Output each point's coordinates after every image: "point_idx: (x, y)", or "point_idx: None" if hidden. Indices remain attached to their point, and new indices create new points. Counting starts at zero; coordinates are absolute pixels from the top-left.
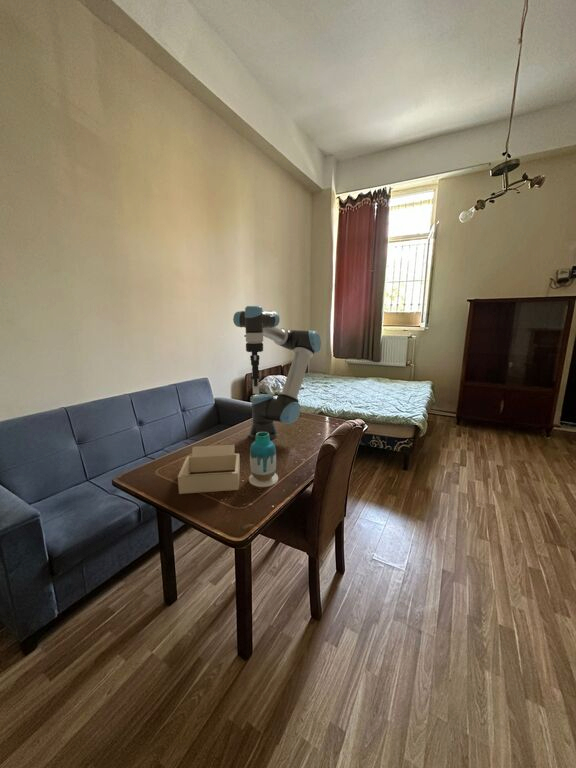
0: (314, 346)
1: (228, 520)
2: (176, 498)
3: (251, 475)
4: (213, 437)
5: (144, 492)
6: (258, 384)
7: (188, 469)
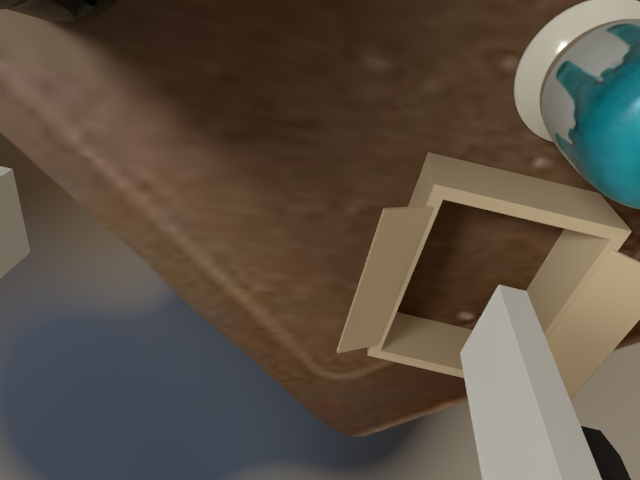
0: None
1: None
2: None
3: (534, 125)
4: (74, 198)
5: (445, 402)
6: (575, 435)
7: (404, 330)
